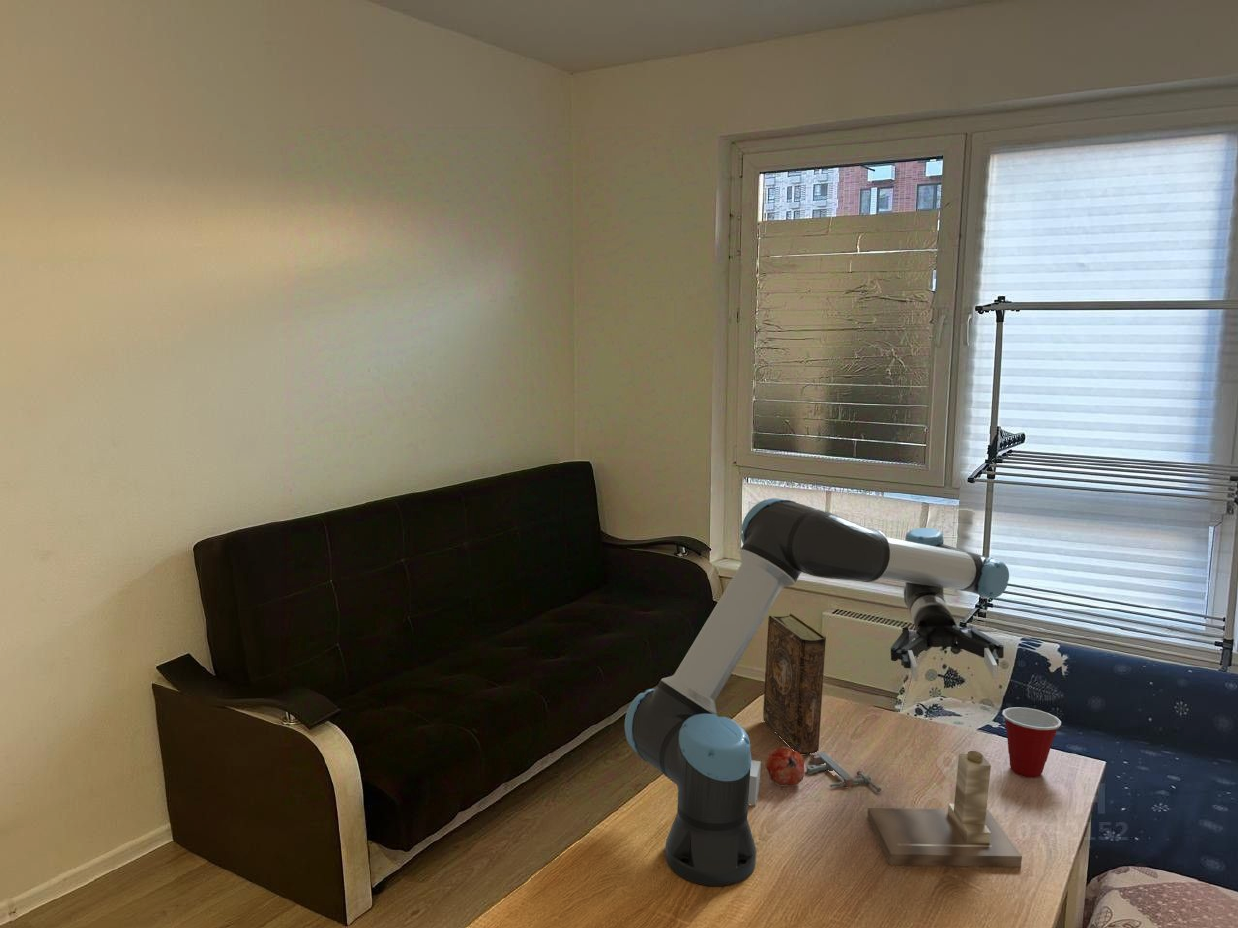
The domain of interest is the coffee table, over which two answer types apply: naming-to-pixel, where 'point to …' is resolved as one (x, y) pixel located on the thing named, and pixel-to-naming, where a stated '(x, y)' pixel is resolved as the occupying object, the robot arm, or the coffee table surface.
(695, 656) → the robot arm
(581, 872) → the coffee table surface
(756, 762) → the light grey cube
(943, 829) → the grey flat plate
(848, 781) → the clamp
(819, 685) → the book
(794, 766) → the pomegranate
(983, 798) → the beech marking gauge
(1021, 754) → the plastic cup
